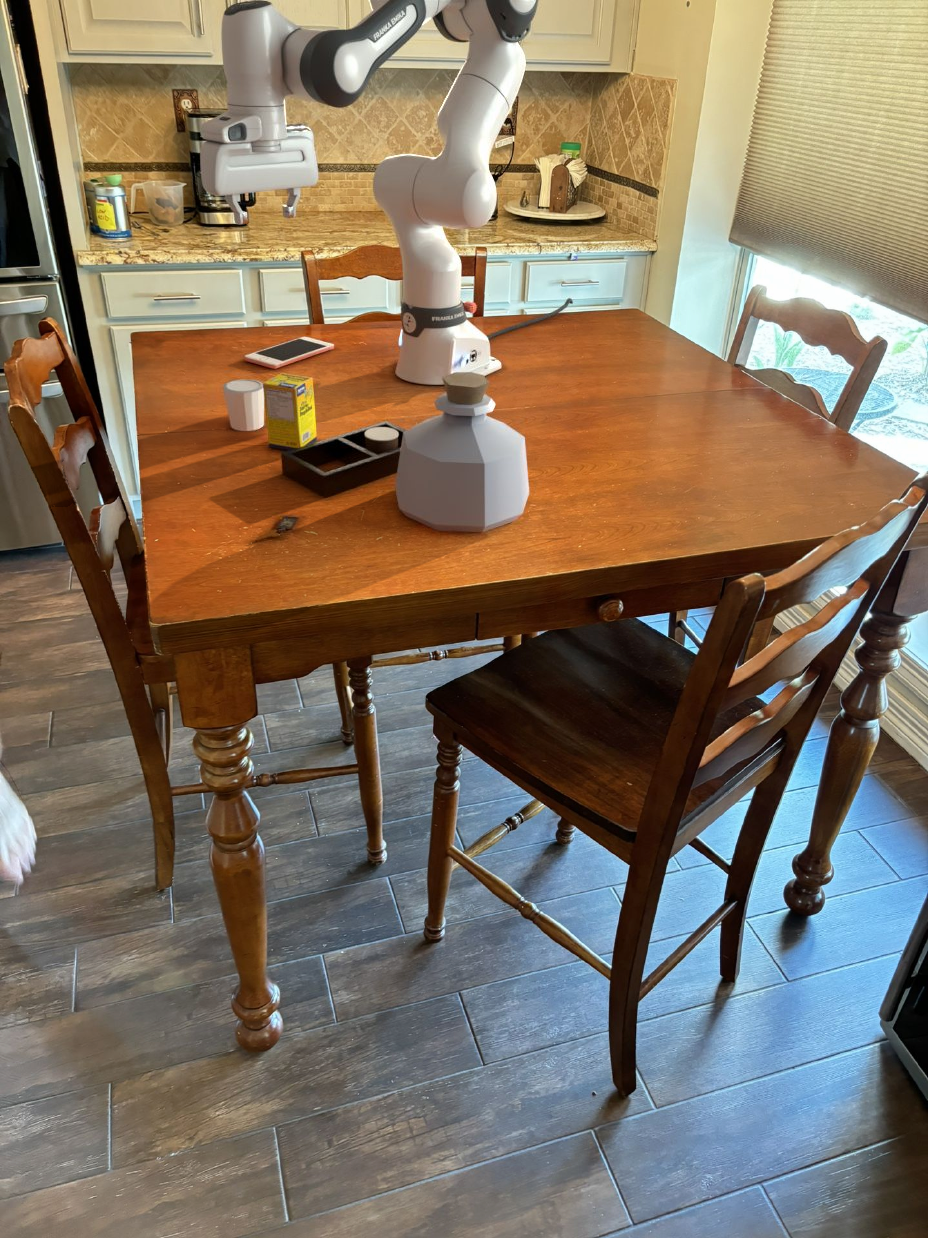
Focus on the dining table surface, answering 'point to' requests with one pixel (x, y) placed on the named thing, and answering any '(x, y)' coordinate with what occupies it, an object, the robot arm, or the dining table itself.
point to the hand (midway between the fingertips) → (266, 220)
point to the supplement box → (290, 411)
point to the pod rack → (347, 450)
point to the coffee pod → (381, 439)
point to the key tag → (281, 527)
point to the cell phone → (288, 352)
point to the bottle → (462, 463)
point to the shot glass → (245, 404)
